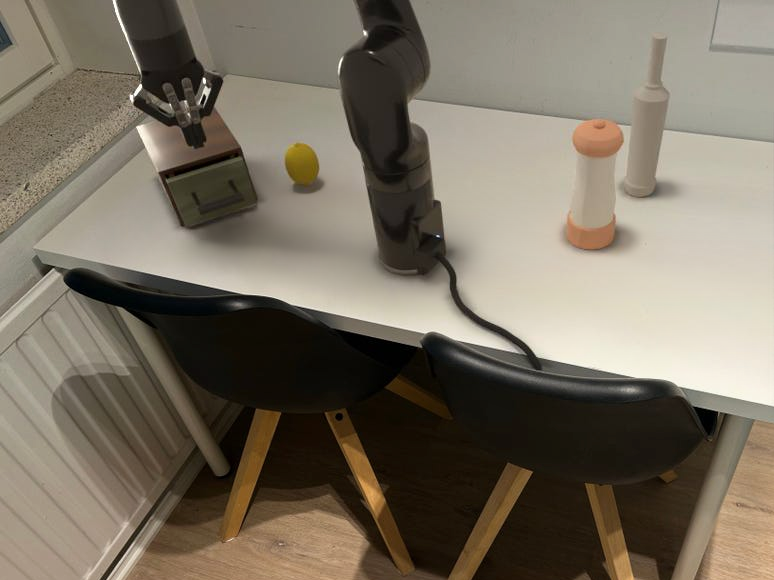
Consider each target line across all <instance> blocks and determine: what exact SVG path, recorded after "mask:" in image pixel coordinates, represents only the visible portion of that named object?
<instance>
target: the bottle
mask: <svg viewBox="0 0 774 580" xmlns="http://www.w3.org/2000/svg"><path fill="white" fill-rule="evenodd" d="M667 41H668V34H666V33H663V32H655V33H653V34H652V36H651V44H650V53H649V54H650V55H649V62H648V70H647V76H646V80H644V82H643V84H642V85H640V86H639V87H637V88H636V89H635V90H634V92H633V104H632V114H631V124H630V134H629V143H628V145H629V146H628V155H627V167H626V174H625V176H624V179H623V189H624V191H625V193H626V194H628V195H630V196H632V197H634V198H635V197H636V198H644V197H649V196H650V195H652V194H653V192H654V191H655V188H656V185H657V178H656V176H657V169H658V165H659V159H660V158H659V157H660V152H661V146H662V141H663V136H664V129H665V125H666V120H667V119H666V118H667V113H668V108H669V103H670V102H669V101H670V97H671V96H670V95H671V94H670V91H669V90H668V89H667V88H666V87H665V86H663V85H664V83H663V81H662V75H663V66H664V59H665V52H666V49H667Z"/></svg>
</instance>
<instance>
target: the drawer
mask: <svg viewBox="0 0 774 580" xmlns="http://www.w3.org/2000/svg"><path fill="white" fill-rule="evenodd" d="M166 176H167V179H166V181H167V184H168V186H169V189H170V191H171V193H172V196H173V198H174V200H175V203H176V205H177V207H178V210H179V212H180V214H181V217H182V219H183V222H184V224H185V225H184V226H185V227H186V228H187V227H190V226H191V227H192V226H194V225H197V224H200V223H202V222H205V221H208V220H212V219H215V218H217V217H221V216H223V215H226V214H230V213H233V212H235V211H238V210H241V209H244V208H248V207H251V206H253V205H256V204H258V200H257V201H256V198H255V195H254V192H253V189H252V186H251V182H250V179H249V176H248V173H247V170H246V167H245V164H244V161H243V159H242V157H241V156H239V157H236V158H235V155H234V154H231V155H228V156H225V157H222V158H218V159H215V160H212V161H209V162H206V163H202V164H199V165H196V166H193V167H189V168H186V169H183V170H180V171H176V172H173V173H170V174H167V175H166Z"/></svg>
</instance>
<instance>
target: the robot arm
mask: <svg viewBox="0 0 774 580" xmlns="http://www.w3.org/2000/svg"><path fill="white" fill-rule="evenodd" d="M112 2H113V6H114V10H115V13H116V16H117V19H118V23H119V26H120V28H121V29H122V32H123V33H124V35H125V36H124V37H125V38H126V41H127V43H128V46H129V48H130V51H131V54H132V56H133V59H134V62H135V64H136V66H137V68H138V72H139V73H138V82H139V86H138V87H137V89H136V90H135V91H132V92H130V93H129V99H130V101H131V103H132V105H133V107H134V108H136V109H138V110H140V111H141V112H142V113H145V114H146V115H148V116H149V117H151V118H153V119H154V120H155V121H159V122H161V123H163V124H164V125H166V126H168V127H172V126H179V127H180V129H181V132H182V134H183V137H184V140H185V142H186V143H187V145H188V146H189V147H191V146H193V148H194V150H195V149H198V148H202V147H204V144H203V143H204V142H206V136H205V133H204V130H203V127H202V124H201V120H202V118H204V117H205V116H210V115H211V113H212V110H213V108H214V107H215V105H216V102H217V100H218V97H219V94H220V92H221V90H222V87H223V84H224V79H223V78H222V76H221V74H220V73H219V72H218V71H217V70H209V69H207V68H205V67H204V66H203V64H202V63H201V61H200V60H199V59H198V58H197V56H196V53H195V50H194V47H193V44H192V41H191V38H190V35H189V32H188V30H187V26H186V23H185V20H184V18H183V15H182V11H181V9H180V5H179V3H178V0H112ZM353 3H354V6H355V9H356V12H357V15H358V18H359V22H360V27H361V30H362V37H360V39H358V40H357V41H355V42H354V43H353V44H352V45H351V46H350V47H348V48H347V49H346V50H345V51H344V52H343V53H342V55H341V56H340V59H339V61H338V65H337V83H338V85H337V86H338V90H339V94H340V95H339V96H340V100H341V103H342V108H343V111H344V115H345V119H346V123H347V127H348V131H349V135H350V138H351V140H352V142H353V144H354V146H355V147H356V148H357V150H358V152H359V155H360V159H361V164H362V169H363V175H364V181H365V186H366V192H367V196H368V202H369V207H370V212H371V213H370V214H371V218H372V224H373V228H374V234H375V240H376V245H377V250H378V258H379V259H378V260H379V263H380V265H381V266H382V267H383V268H384V269H385V270H386V271H388V272H390V273H393V274H395V275H402V276H413V275H421V276H426V275H427V274H428V273H429V272H430V271H431V270H433V268H434V267H435V266H436V265H437V264H438V263H440V264H441V265H442V266H443V267H444V269H445V270H446V272H447V273H448V276H449V291H450V293H451V297H452V299H453V302H454V303H455V305H456V306H457V308H458V309H459V310H460V311H461V312H462V313H463V314H464V315H465V316H466V317H468V318H469V319H470V320H471V321H472V322H474V323H475V324H476V325H478V326H480V327H482V328H484V329H487V330H489V331H491V332H493V333H495V334H498V335H500V336H501V337H502V338H505V339H506V340H507V341H509V343H512V344H513V345H515V346H516V347H517V348H518V349H520V350H521V351H522V352H523V353H524V354H525V355H526V356H527V358H528V359H529V361H530V363H531V364H532V366H533V368H534V370H536V371H538V370H539V371H538V372H540V371H542V370H543V367H542V364H541V362H540V360H539V358H538V356H537V355H536V354H535V352H534V351H533V350H532V348H531V347H530V346H529V345H528V344H527V343H526V342H525V341H523V340H522V339H521V338H519V337H517V336H516V335H514V334H512V333H511V332H510V331H508V330H507V329H505V328H503V327H502V326H499V325H497V324H495V323H493V322H490V321H488V320H486V319H484V318H483V317H480V316H479V315H478V314H477V313H475V312H474V311H473V310H471V309H470V308H469V307H468V306H467V305H466V304H465V303H464V302H463V300H462V298H461V296H460V294H459V291H458V287H457V281H458V280H457V278H458V277H457V274H456V271H455V269H454V267H453V265H452V264H451V263H450V261H449V260H448V259H447V258H446V257H445V256H446V254H447V249H446V247H447V246H446V238H445V237H446V236H445V228H444V218H443V209H442V208H443V207H442V202H441V200H439V199H436V197H435V189H434V181H433V171H432V162H431V161H432V160H431V152H430V141H429V136H428V134H427V132H426V131H425V129H424V128H423V127H421V126H420V125H419V124H417V123H414V122H411V118H410V112H409V105H408V104H409V103H411V102H412V101H413V100H414V98H416V96H417V95H419V94H420V92H422V90H423V89H424V87H426V85H427V83H428V81H429V79H430V75H431V68H432V67H431V66H432V65H431V57H430V52H429V48H428V45H427V42H426V39H425V36H424V34H423V30H422V28H421V24H420V23H419V20H418V17H417V15H416V13H415V10H414V7H413V4H412V3H411V0H353ZM202 82H203V84H204V85H205V86H204V88H203V91H202V94H201V96H200V99H199V102H198V103H197V100H196V96H197V95H198V92H199V90H200V87H201V84H202ZM148 93H149V94H151V95H152V96H154V97H155V98H157V99H158V100H159V101H161V102H162V103H164V104H168V105H169V106H170V108H171V110H172V113H171V112H169V111H167V110H165V109H164V108H162V107H160V106H159V105H157V104H156V103H154V102H153V101H152V100H153V99H152V98H151V96H150V95H149V94H148ZM181 102H183V103H184V106H185V110H186V112H187V113H188V117H189V119H188V120H187V118H186V116H185V114H184V113H185V112H184V109H183V107H182V105H181ZM188 121H189V122H188Z"/></svg>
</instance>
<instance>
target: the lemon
mask: <svg viewBox="0 0 774 580" xmlns="http://www.w3.org/2000/svg"><path fill="white" fill-rule="evenodd" d="M284 166H285V170H286V173H287V175H288V176H289V178H290V179H291V180H292V181H293V182H295V183H297V184H300V185H305V186H309V185H310V184H311V183H314V182H315V180H316V179H317V178H318V176H319V173H320V161H319V158H318V155H317V153H316V152H315V151H314V149H313V148H312V147H311V145H308V144H306V143H304V142H298V141H297V142H296V141H295V142H294V143H293V144H291V145H290V146H289V147H288V148H287V149H286V151H285V154H284Z"/></svg>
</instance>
